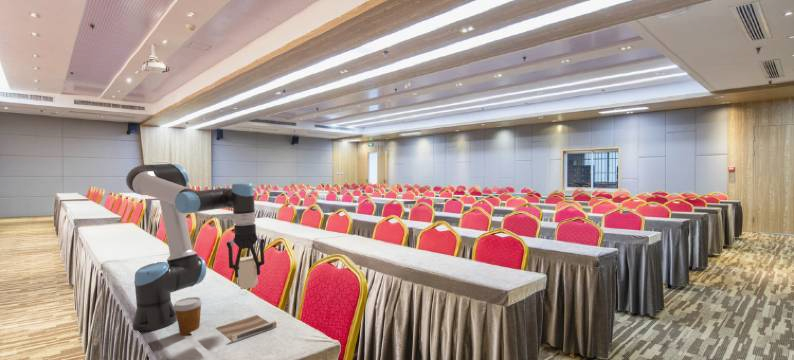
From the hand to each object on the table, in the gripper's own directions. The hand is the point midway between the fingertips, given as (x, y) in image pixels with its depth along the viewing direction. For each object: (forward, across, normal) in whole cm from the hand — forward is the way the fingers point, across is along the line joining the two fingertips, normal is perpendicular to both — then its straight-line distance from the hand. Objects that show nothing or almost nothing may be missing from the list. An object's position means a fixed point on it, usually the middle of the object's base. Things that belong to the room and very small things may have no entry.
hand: (248, 284), depth 148 cm
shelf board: (+17, -2, -3) cm, 17 cm away
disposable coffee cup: (+17, -22, +5) cm, 28 cm away
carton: (0, 0, 0) cm, 0 cm away
